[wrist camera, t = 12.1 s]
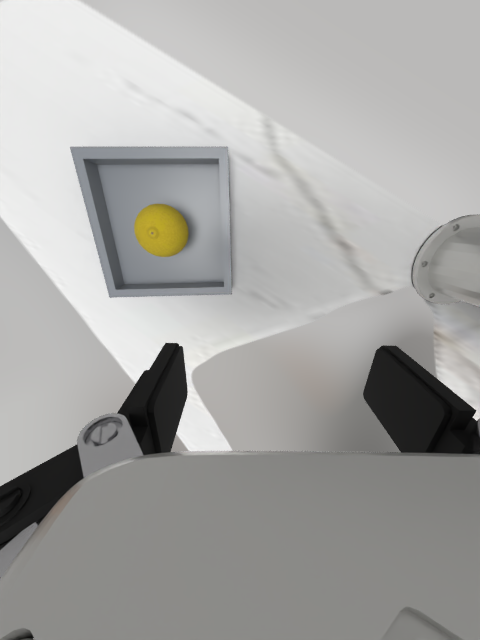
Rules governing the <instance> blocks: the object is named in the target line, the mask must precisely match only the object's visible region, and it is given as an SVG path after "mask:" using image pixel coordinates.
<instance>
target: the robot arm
mask: <svg viewBox="0 0 480 640" xmlns="http://www.w3.org/2000/svg"><path fill="white" fill-rule="evenodd" d="M412 277H413V284H414V287H415V289H416V291H417V293H418V294H419V295H420V296H421V297H422V298H424V299H426V300H428V301H430V302H433V303H437V304H452V303H457V302H460V301H463V302H466V303H469V304H472V305H475V306H478V307H480V215H467V216H463V217H459V218H457V219H454V220H452V221H450V222H448V223H447V224H445V225H443V226H442V227H441V228H439V229H438V230H437V231H436V232H434V233H433V234H432V235H431V236H430V238H429V239H428V240H427V241H426V242H425V244H424V245H423V246H422V248H421V249H420V251H419V253H418V255H417V257H416V260H415V263H414V267H413V273H412ZM363 395H364V399H365V400H366V402H367V404H368V405H369V406H370V408H371V409H372V411H373V412H374V414H375V415H376V416H377V418H378V420H379V421H380V422H381V424H382V425H383V427H384V428H385V429H386V431H387V433H388V434H389V435H390V437H391V438H392V440H393V441H394V443H395V444H396V446H397V447H398V448H399V450H400V451H401V453H398V452H397V453H396V452H316V451H315V452H314V451H312V452H311V451H304V452H303V451H187V452H171V448H172V445H173V441H174V438H175V435H176V432H177V428H178V425H179V422H180V418H181V415H182V412H183V408H184V405H185V402H186V399H187V382H186V372H185V363H184V354H183V347H182V346H179V344H178V343H165V345H164V346H163V348H162V350H161V351H160V353H159V355H158V356H157V358H156V360H155V361H154V363H153V364H152V366H151V368H150V369H149V370H146V371H144V372H143V374H142V375H141V377H140V378H139V380H138V381H137V383H136V385H135V386H134V388H133V389H132V391H131V393H130V394H129V396H128V397H127V399H126V400H125V402H124V403H123V405H122V407H121V408H120V410H119V411H118V413H111V414H106V415H103V416H100V417H98V418H96V419H94V420H92V421H91V422H90V423H89V424H87V425H86V426H85V427H84V428H83V430H82V431H81V432H80V434H79V436H78V439H77V445H75V446H73V447H72V448H70V449H68V450H66V451H64V452H62V453H61V454H59V455H57V456H55V457H53V458H51V459H50V460H48V461H46V462H44V463H42V464H40V465H39V466H37V467H35V468H33V469H31V470H29V471H28V472H26V473H24V474H22V475H20V476H18V477H17V478H15V479H13V480H11V481H9V482H7V483H5V484H4V485H2V486H0V640H33V638H34V640H480V419H478V421H476V420H475V419H474V418H472V417H473V416H474V414H475V412H476V410H475V409H474V408H472V407H471V406H470V405H469V404H467V403H466V402H465V401H464V400H463V399H461V398H460V397H459V396H458V395H456V394H455V393H454V392H453V391H451V390H450V389H449V388H448V387H446V386H445V385H444V384H443V383H441V382H440V381H439V380H438V379H437V378H435V377H434V376H433V375H431V374H430V373H429V372H428V371H426V370H425V369H424V368H423V367H422V366H420V365H419V364H418V363H417V362H416V361H414V360H413V359H412V358H411V357H409V356H408V355H407V354H406V353H404V352H403V351H402V350H401V349H399V348H398V347H397V346H381V347H380V348H379V349H377V350H376V353H375V356H374V359H373V363H372V366H371V369H370V372H369V376H368V379H367V382H366V386H365V389H364V393H363Z"/></svg>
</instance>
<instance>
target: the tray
mask: <svg viewBox="0 0 480 640" xmlns="http://www.w3.org/2000/svg"><path fill="white" fill-rule="evenodd" d="M70 149H71V153H72V157H73V160H74V164H75V168H76V172H77V176H78V179H79V183H80V187H81V191H82V195H83V198H84V202H85V206H86V210H87V213H88V217H89V221H90V225H91V229H92V232H93V236H94V240H95V244H96V248H97V251H98V255H99V259H100V263H101V266H102V270H103V274H104V278H105V282H106V285H107V289H108V293H109V297H142V296H181V295H220V294H232V277H231V241H230V206H229V170H228V147H70ZM152 204H166V205H168V206H171V207H173V208H174V209H176V210H177V211H178V212H179V213H180V214H181V215H182V216H183V217H184V219H185V221H186V223H187V226H188V233H189V235H188V241H187V243H186V245H185V247H184V248H183V249H182V251H180V252H179V253H177V254H176V255H173V256H170V257H159V256H155V255H153V254H151V253H149V252H147V251H146V250H145V249H143V247H142V246H141V245H140V244H139V242H138V240H137V239H136V236H135V232H134V224H135V219H136V217H137V215H138V213H139V212H140V211H141V210H142V209H143V208H145V207H147V206H149V205H152Z"/></svg>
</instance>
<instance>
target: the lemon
mask: <svg viewBox="0 0 480 640" xmlns="http://www.w3.org/2000/svg"><path fill="white" fill-rule="evenodd" d="M134 232H135V236H136V239H137V240H138V242H139V244H140V245H141V246H142V247H143V249H145V250H146V251H147V252H149V253H151V254H153V255H155V256H159V257H170V256H173V255H176V254H177V253H179V252H180V251H182V249H183V248H184V247H185V245H186V243H187V241H188V235H189V233H188V226H187V223H186V221H185V219H184V217H183V216H182V215H181V214H180V213H179V212H178V211H177V210H176V209H174V208H173V207H171V206H168V205H166V204H152V205H149V206H147V207H145V208H143V209H142V210H141V211H140V212H139V213H138V215H137V217H136V219H135V224H134Z"/></svg>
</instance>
